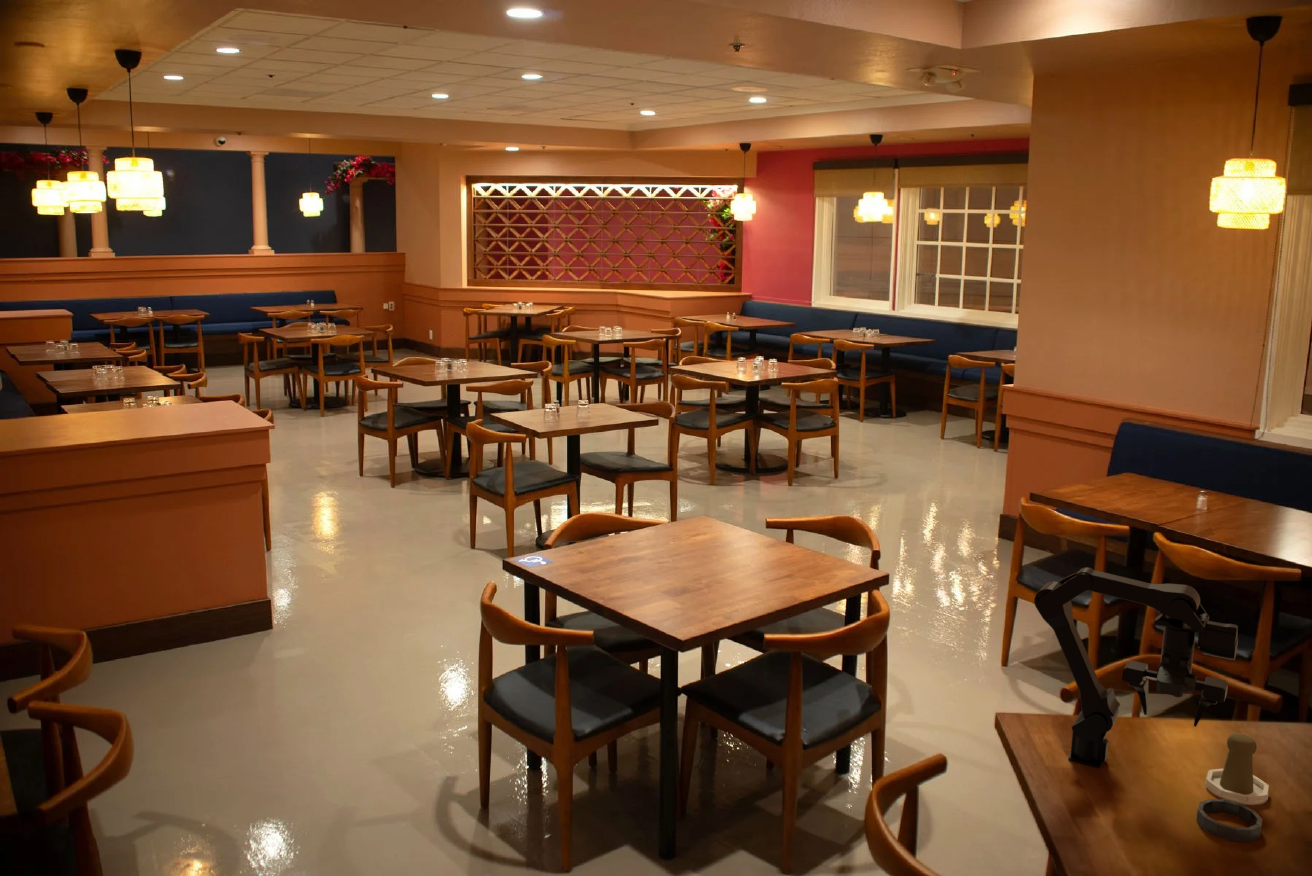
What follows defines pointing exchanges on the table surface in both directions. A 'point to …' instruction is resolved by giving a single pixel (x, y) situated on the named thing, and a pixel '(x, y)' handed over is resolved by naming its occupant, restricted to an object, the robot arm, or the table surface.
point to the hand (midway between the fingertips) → (1170, 719)
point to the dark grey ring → (1225, 830)
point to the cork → (1239, 764)
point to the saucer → (1254, 798)
